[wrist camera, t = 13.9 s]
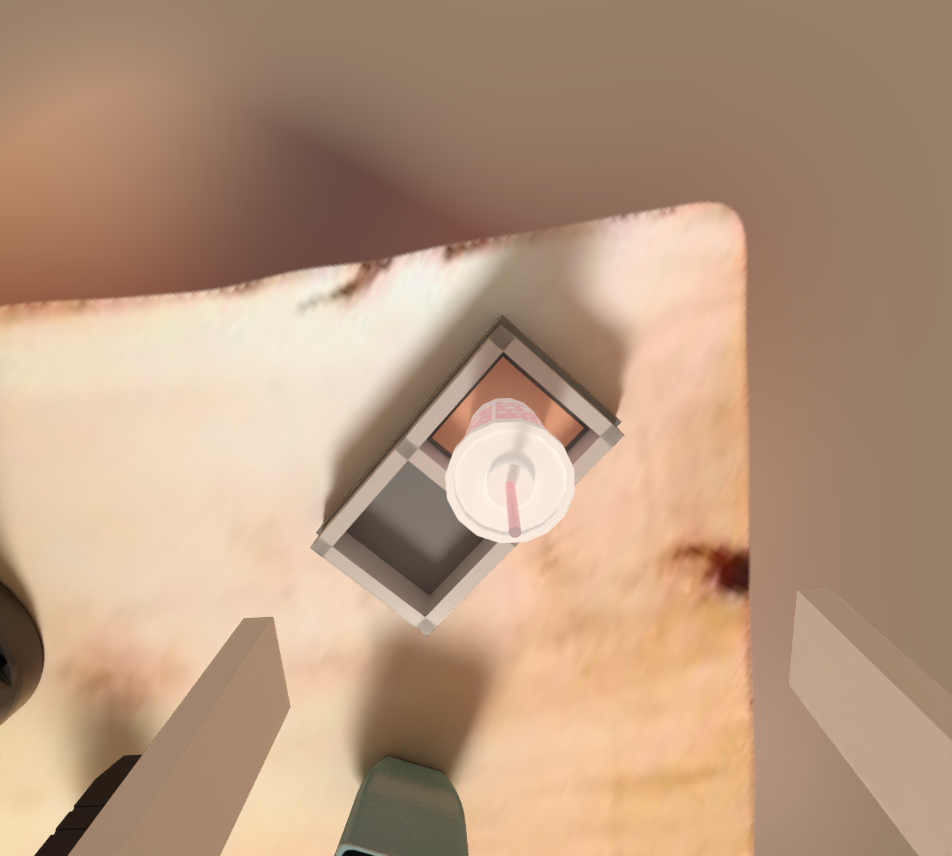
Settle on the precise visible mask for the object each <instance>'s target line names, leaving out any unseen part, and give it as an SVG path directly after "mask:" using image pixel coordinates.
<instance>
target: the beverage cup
mask: <svg viewBox="0 0 952 856" xmlns="http://www.w3.org/2000/svg"><path fill="white" fill-rule="evenodd" d="M445 479H446V492H447V500H448V502H449V504H450V506H451V507H452V509H453V511H454V513H455V515H456V517H457V519H458V520H459V521H460V522H461V523H462V524H464V525H465V526H466V527H467V528H468V529H470V530H471V531H472V532H473V533H474V534H476V535H477V536H480V537H483V538H486V539H489V540H492V541H495V542H498V543H516V542H526V541H529V540H531V539H533V538H536V537H538V536H541V535H543V534H545V533H548V532H549V531H550V530H551V529H552V528H553V527H554V526H555V525H556V524H557V523H558V522H559V521H560V520H561V519H562V518H563V517H564V516H565V514H566V512H567V510H568V507H569V505H570V503H571V500H572V498H573V496H574V468H573V465H572V463H571V461H570V459H569V457H568V455H567V452H566V450H565V448H564V446H563V445H562V443H561V442H560V441H559V440H558V439H557V438H556V437H555V436H553V435H552V434H551V433H550V432H549V431H548V430H547V429H546V428H545V427H544V426H543V424H542V423H541V421H540V420H539V418H538V417H537V415H536V414H535V413H534V411H532V410H531V409H530V408H529V407H528V406H527V405H526V404H525V403H523V402H520V401H517V400H514V399H512V398H500V399H494V400H492V401H490V402H488V403H485V404H483V405H482V406H481V407H480V408H479V409H478V410H477V411H476V413H475V414H474V415H473V417H472V419H471V422H470V424H469V427H468V429H467V432H466V434H465V437H464V438H463V439H462V440H461V442H460V443H459V444H458V445H457V446H456V447H455V449H454V451H453V454H452V457H451V460H450V462H449V465H448V468H447V471H446V474H445Z"/></svg>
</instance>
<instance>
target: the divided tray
mask: <svg viewBox="0 0 952 856" xmlns="http://www.w3.org/2000/svg"><path fill="white" fill-rule="evenodd" d="M500 398H512V399H514V400H517V401H520V402H523V403H525V404H526V405H527V406H528V407H529V408H530V409H531V410H532V411H534V413H535V414H536V415H537V417H538V418H539V420H540V421H541V423H542V424H543V426H544V427H545V428H546V429H547V430H548V431H549V432H550V433H551V434H552V435H553V436H555V437H556V438H557V439H558V440H559V441H560V442H561V443H562V445H563V446H564V448H565V450H566V452H567V455H568V457H569V459H570V461H571V463H572V465H573V468H574V486H575V485H576V484H577V483H578V482H579V481H580V480H581V479H582V478H583V477H584V476H585V475H586V474H587V473H588V472H589V471H590V470H591V469H592V468H593V467H594V466H595V465H596V464H597V463H598V462H599V461H600V460H601V458H602V457H603V456H604V455H605V454H606V453H607V452H608V451H609V450H610V449H611V448H612V447H613V446H614V445H615V444H616V443H617V442H618V441H619V440H620V439H621V438H622V437H623V436H624V434H623V433H622V432H621V431H620V430H619V429H618V428H617V426H618V425H619V424H620V423H621V421H620V420H619V419H618V418H617V417H616V416H615V415H614V414H613V413H612V412H610V411H609V410H608V409H607V408H606V407H605V406H604V405H603V404H601V403H600V402H599V401H598V400H597V399H596V398H595V397H594V396H592V395H591V394H590V393H589V392H588V391H587V390H586V389H585V388H584V387H582V386H581V385H580V384H579V383H578V382H577V381H576V380H575V379H573V378H572V377H571V376H570V375H569V374H568V373H567V372H566V371H564V370H563V369H562V368H561V367H560V366H559V365H558V364H557V363H555V362H554V361H553V360H552V359H551V358H550V357H549V356H548V355H547V354H545V353H544V352H543V351H542V350H541V349H540V348H539V347H538V346H536V345H535V344H534V343H533V342H532V341H531V340H530V339H529V338H527V337H526V336H525V335H524V334H523V333H522V332H521V331H520V330H518V329H517V328H516V327H515V326H514V325H513V324H512V323H511V322H510V321H508V320H507V319H506V318H505V317H504V316H503V315H501V317H500V318H499V319H498V320H497V321H496V322H495V324H494V325H493V326H492V327H491V328H490V329H489V331H488V332H487V333H486V334H485V335H484V336H483V338H482V339H481V340H480V341H479V342H478V343H477V345H476V346H475V347H474V348H473V349H472V350H471V352H470V353H469V354H468V355H467V356H466V357H465V359H464V360H463V361H462V362H461V363H460V364H459V365H458V367H457V368H456V369H455V370H454V371H453V372H452V374H451V375H450V376H449V377H448V378H447V379H446V381H445V382H444V383H443V384H442V385H441V386H440V388H439V389H438V390H437V391H436V392H435V393H434V395H433V396H432V397H431V398H430V399H429V400H428V402H427V403H426V404H425V405H424V406H423V407H422V409H421V410H420V411H419V412H418V413H417V414H416V416H415V417H414V418H413V419H412V420H411V421H410V423H409V424H408V425H407V426H406V427H405V428H404V430H403V431H402V432H401V433H400V434H399V435H398V437H397V438H396V439H395V440H394V441H393V442H392V443H391V445H390V446H389V447H388V448H387V449H386V450H385V452H384V453H383V454H382V455H381V456H380V457H379V459H378V460H377V461H376V462H375V463H374V464H373V466H372V467H371V468H370V469H369V470H368V471H367V473H366V474H365V475H364V476H363V477H362V478H361V480H360V481H359V482H358V483H357V484H356V485H355V487H354V488H353V489H352V490H351V491H350V492H349V494H348V495H347V496H346V497H345V498H344V499H343V501H342V502H341V503H340V504H339V505H338V506H337V508H336V509H335V510H334V511H333V512H332V513H331V514H330V516H329V517H328V518H327V519H326V520H325V521H324V523H323V524H322V525H321V527H320V528H319V530H318V531H317V532H316V533H317V534H318V535H319V536H318V537H317V539H316V540H315V541H314V543H313V544H312V546H311V547H310V548H311V549H312V550H313V551H315V552H316V553H317V554H319V555H320V556H321V557H323V558H324V559H325V560H327V561H328V562H329V563H331V564H332V565H333V566H335V567H336V568H337V569H339V570H340V571H341V572H343V573H344V574H345V575H347V576H348V577H349V578H351V579H352V580H353V581H355V582H356V583H357V584H359V585H360V586H361V587H363V588H364V589H365V590H367V591H368V592H369V593H371V594H372V595H373V596H375V597H376V598H377V599H379V600H380V601H381V602H383V603H384V604H385V605H387V606H388V607H389V608H391V609H392V610H393V611H395V612H396V613H397V614H399V615H400V616H401V617H403V618H404V619H405V620H407V621H408V622H409V623H411V624H412V625H413V626H415V627H416V628H417V629H419V630H420V631H421V632H423V633H424V634H425V635H426V636H428V635H429V634H430V633H431V632H432V631H433V630H434V629H435V628H436V627H437V626H438V625H439V624H440V623H441V622H442V621H443V620H444V619H445V618H446V617H447V616H448V615H449V614H450V613H451V612H452V611H453V610H454V609H455V607H456V606H457V605H458V604H459V603H460V602H461V601H462V600H463V599H464V598H465V597H466V596H467V595H468V594H469V593H470V592H471V591H472V590H473V589H474V588H475V587H476V586H477V585H478V584H479V583H480V582H481V581H482V580H483V579H484V578H485V577H486V576H487V575H488V574H489V573H490V572H491V571H492V570H493V569H494V568H495V567H496V566H497V565H498V564H499V563H500V562H501V561H502V560H503V559H504V557H505V556H506V555H507V554H508V553H509V552H510V551H511V550H512V549H513V548H514V547H515V546H516V545H517V544H518V543H519V542H516V543H498V542H495V541H492V540H489V539H486V538H483V537H480V536H477V535H476V534H474V533H473V532H472V531H471V530H470V529H468V528H467V527H466V526H465V525H464V524H462V523H461V522H460V521H459V520H458V519H457V517H456V515H455V513H454V511H453V509H452V507H451V506H450V504H449V502H448V500H447V492H446V479H445V474H446V471H447V468H448V465H449V462H450V460H451V457H452V454H453V451H454V449H455V447H456V446H457V445H458V444H459V443H460V442H461V440H462V439H463V438H464V437H465V434H466V432H467V429H468V427H469V424H470V422H471V419H472V417H473V415H474V414H475V413H476V411H477V410H478V409H479V408H480V407H481V406H482V405H483V404H485V403H488V402H490V401H492V400H494V399H500Z"/></svg>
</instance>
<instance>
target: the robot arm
mask: <svg viewBox="0 0 952 856" xmlns="http://www.w3.org/2000/svg"><path fill="white" fill-rule="evenodd" d="M42 662H43V658H42V648H41V644H40V639H39V636H38V633H37V631H36V628H35V626H34V624H33V622H32V620H31V618H30V617H29V615H28V613H27V612H26V610H25V609H24V607H23V606H22V605H21V604H20V602H19V601H18V600H17V599H16V598H15V597H14V595H13V594H12V593H11V592H10V591H9V590H8V589H6V588H5V587H4V586H3V585H2V584H1V583H0V725H1V724H3V723H4V722H5V721H6V720H7V719H8V718H9V717H10V716H12V715H13V714H14V713H15V712H16V711H17V710H18V709H19V708H21V707H22V706H23V705H24V704H25V703H26V702H27V701H28V700H29V698H30V697H31V696H32V694H33V693H34V691H35V689H36V688H37V685H38V683H39V680H40V677H41V672H42ZM789 680H790V681H789V685H790V687H791V688H792V689H793V691H794V692H795V693H796V695H797V696H798V697H799V699H800V700H801V701H802V703H803V704H804V705H805V707H806V708H807V709H808V711H809V712H810V713H811V714H812V716H813V717H814V718H815V720H816V721H817V722H818V724H819V725H820V726H821V728H822V729H823V730H824V732H825V733H826V734H827V736H828V737H829V738H830V740H831V741H832V742H833V743H834V745H835V746H836V747H837V748H838V750H839V751H840V753H841V754H842V755H843V757H844V758H845V759H846V761H847V762H848V763H849V765H850V766H851V767H852V769H853V770H854V771H855V772H856V774H857V775H858V776H859V778H860V779H861V780H862V782H863V783H864V784H865V786H866V787H867V788H868V790H869V791H870V792H871V794H872V795H873V796H874V797H875V799H876V800H877V801H878V803H879V804H880V805H881V807H882V808H883V809H884V811H885V812H886V813H887V815H888V816H889V817H890V819H891V820H892V821H893V823H894V824H895V825H896V826H897V828H898V829H899V830H900V832H901V833H902V834H903V836H904V837H905V838H906V840H907V841H908V842H909V843H910V845H911V846H912V847H913V849H914V850H915V851H916V853H917V854H918V855H919V856H952V696H951V695H950V694H949V693H948V692H946V691H945V690H944V689H943V688H942V687H941V686H940V685H938V684H937V683H936V682H935V681H934V680H933V679H932V678H931V677H929V676H928V675H927V674H926V673H925V672H924V671H923V670H921V669H920V668H919V667H918V666H917V665H916V664H915V663H913V662H912V661H911V660H910V659H909V658H908V657H907V656H906V655H904V654H903V653H902V652H901V651H900V650H899V649H898V648H896V647H895V646H894V645H893V644H892V643H891V642H889V641H888V640H887V639H886V638H885V637H884V636H883V635H882V634H880V633H879V632H878V631H877V630H876V629H875V628H874V627H873V626H871V625H870V624H869V623H868V622H867V621H866V620H865V619H863V618H862V617H861V616H860V615H859V614H858V613H856V612H855V611H854V610H853V609H852V608H851V607H850V606H849V605H847V604H846V603H845V602H844V601H843V600H842V599H841V598H840V597H838V596H837V595H836V594H835V593H834V592H833V591H832V590H830V589H810V590H797V601H796V612H795V623H794V634H793V645H792V657H791V668H790V679H789ZM289 709H290V702H289V697H288V692H287V686H286V681H285V676H284V671H283V666H282V660H281V655H280V650H279V645H278V639H277V634H276V629H275V624H274V619H273V617H260V618H244V619H243V620H242V621H241V623H240V624H239V626H238V627H237V628H236V630H235V631H234V632H233V634H232V635H231V636H230V638H229V639H228V640H227V642H226V643H225V644H224V646H223V647H222V648H221V650H220V651H219V652H218V654H217V655H216V657H215V658H214V659H213V661H212V662H211V663H210V665H209V666H208V667H207V669H206V670H205V671H204V673H203V674H202V675H201V677H200V678H199V679H198V681H197V682H196V683H195V685H194V686H193V688H192V689H191V690H190V692H189V693H188V694H187V696H186V697H185V698H184V700H183V701H182V702H181V704H180V705H179V706H178V708H177V709H176V710H175V712H174V713H173V714H172V716H171V717H170V719H169V720H168V721H167V723H166V724H165V725H164V727H163V728H162V729H161V731H160V732H159V733H158V735H157V736H156V737H155V739H154V740H153V741H152V743H151V744H150V745H149V747H148V748H147V750H146V751H145V752H144V754H143V755H126V756H123V757H122V758H121V759H119V760H118V761H117V762H116V763H115V764H113V765H112V766H111V767H110V768H108V769H107V770H106V771H105V772H104V773H102V774H101V775H100V776H99V777H98V778H96V779H95V781H94V782H93V783H92V784H91V786H90V787H89V788H88V789H87V790H86V792H85V793H84V794H83V795H82V797H81V798H80V799H79V800H78V802H77V803H76V804H75V805H74V810H73V811H71V812H69V813H68V814H67V815H66V817H65V818H64V819H63V820H62V822H61V823H60V824H59V825H58V827H57V828H56V832H55V834H54V835H50V837H49V838H48V839H47V840H46V842H45V843H44V844H43V845H42V847H41V848H40V849H39V850H38V852H37V853H36V854H35V855H34V856H220V854H221V852H222V850H223V848H224V846H225V844H226V842H227V840H228V837H229V835H230V833H231V831H232V829H233V827H234V825H235V823H236V821H237V818H238V816H239V814H240V812H241V810H242V808H243V806H244V804H245V802H246V799H247V797H248V795H249V793H250V791H251V789H252V787H253V785H254V783H255V780H256V778H257V776H258V774H259V772H260V770H261V768H262V766H263V764H264V761H265V759H266V757H267V755H268V753H269V751H270V749H271V747H272V745H273V742H274V740H275V738H276V736H277V734H278V732H279V730H280V728H281V726H282V723H283V721H284V719H285V717H286V715H287V713H288V711H289Z"/></svg>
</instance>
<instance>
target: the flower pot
mask: <svg viewBox="0 0 952 856" xmlns="http://www.w3.org/2000/svg"><path fill="white" fill-rule="evenodd" d="M334 856H469V855H468V843H467V833H466V824H465V816H464V811H463V807H462V804H461V801H460V799H459V796H458V794H457V792H456V790H455V788H454V787H453V785H452V784H451V782H450V781H449V780H448V778H447V777H446V776H445V775H444V774H443V773H442V772H440V771H438V770H434V769H430V768H427V767H423V766H420V765H416V764H413V763H409V762H406V761H403V760H399V759H396V758H393V757H385V758H383V759H382V760H381V761H379V762H378V763H377V764H376V765H375V766H373V768H372V769H371V770H370V771H369V773H368V774H367V775H366V777H365V778H364V780H363V782H362V784H361V786H360V788H359V791H358V793H357V795H356V798H355V801H354V804H353V807H352V809H351V812H350V815H349V818H348V820H347V823H346V826H345V828H344V831H343V834H342V836H341V839H340V842H339V845H338V847H337V850H336V853H335V855H334Z"/></svg>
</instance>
